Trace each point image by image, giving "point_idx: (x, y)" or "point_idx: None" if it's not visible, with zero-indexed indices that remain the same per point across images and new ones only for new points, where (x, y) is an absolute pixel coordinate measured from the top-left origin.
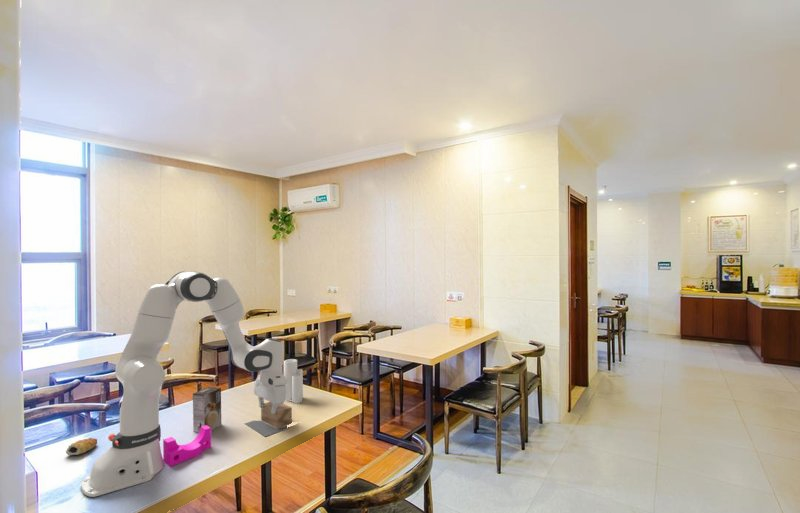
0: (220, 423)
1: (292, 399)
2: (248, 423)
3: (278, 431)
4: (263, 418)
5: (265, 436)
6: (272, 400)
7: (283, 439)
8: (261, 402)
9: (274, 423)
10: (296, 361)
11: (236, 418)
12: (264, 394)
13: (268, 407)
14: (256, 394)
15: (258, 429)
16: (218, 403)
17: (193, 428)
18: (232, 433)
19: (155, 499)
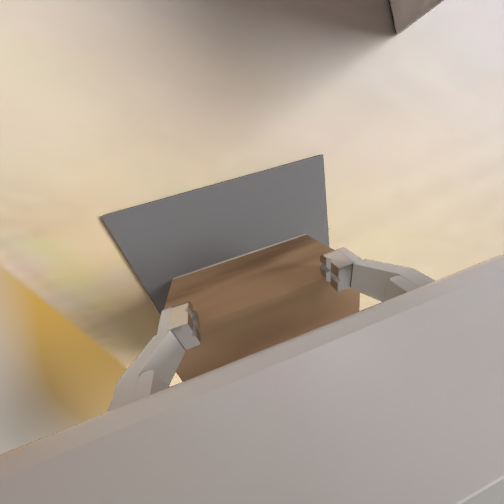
0: (405, 16)
1: None
2: (312, 174)
3: (141, 280)
4: (293, 244)
5: (101, 216)
6: (68, 468)
7: (40, 287)
8: (355, 275)
9: (193, 281)
10: None
11: (405, 140)
12: (338, 394)
13: (281, 299)
14: (472, 273)
15: (214, 202)
16: None
17: None
18: (253, 56)
19: None
